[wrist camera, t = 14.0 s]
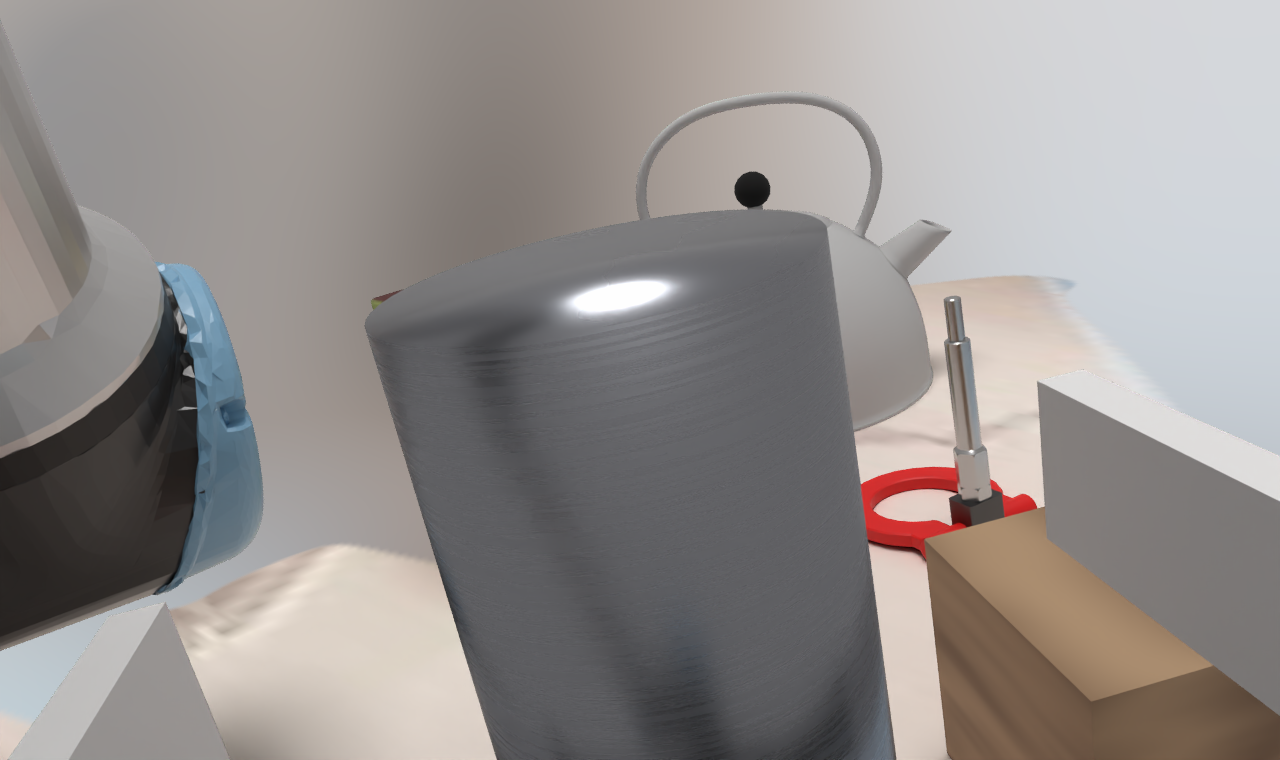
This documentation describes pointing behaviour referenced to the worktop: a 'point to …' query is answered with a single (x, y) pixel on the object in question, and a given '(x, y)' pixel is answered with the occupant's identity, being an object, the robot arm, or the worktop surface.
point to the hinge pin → (646, 490)
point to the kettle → (851, 274)
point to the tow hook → (968, 477)
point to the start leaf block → (1070, 662)
